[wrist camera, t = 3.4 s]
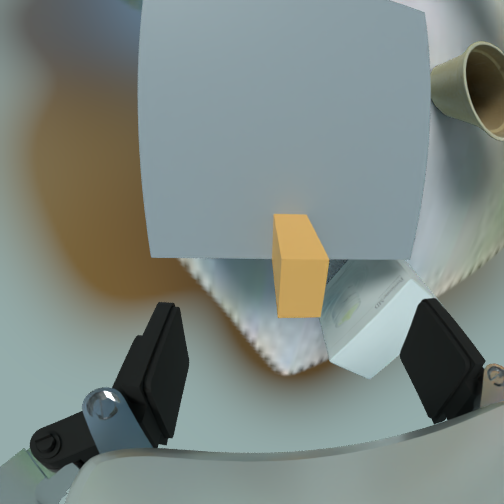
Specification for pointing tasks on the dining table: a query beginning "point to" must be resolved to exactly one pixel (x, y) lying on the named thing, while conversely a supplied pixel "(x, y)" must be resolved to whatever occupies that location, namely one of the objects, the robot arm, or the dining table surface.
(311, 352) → the dining table surface
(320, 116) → the lid
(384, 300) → the skincare box
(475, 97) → the flower pot
